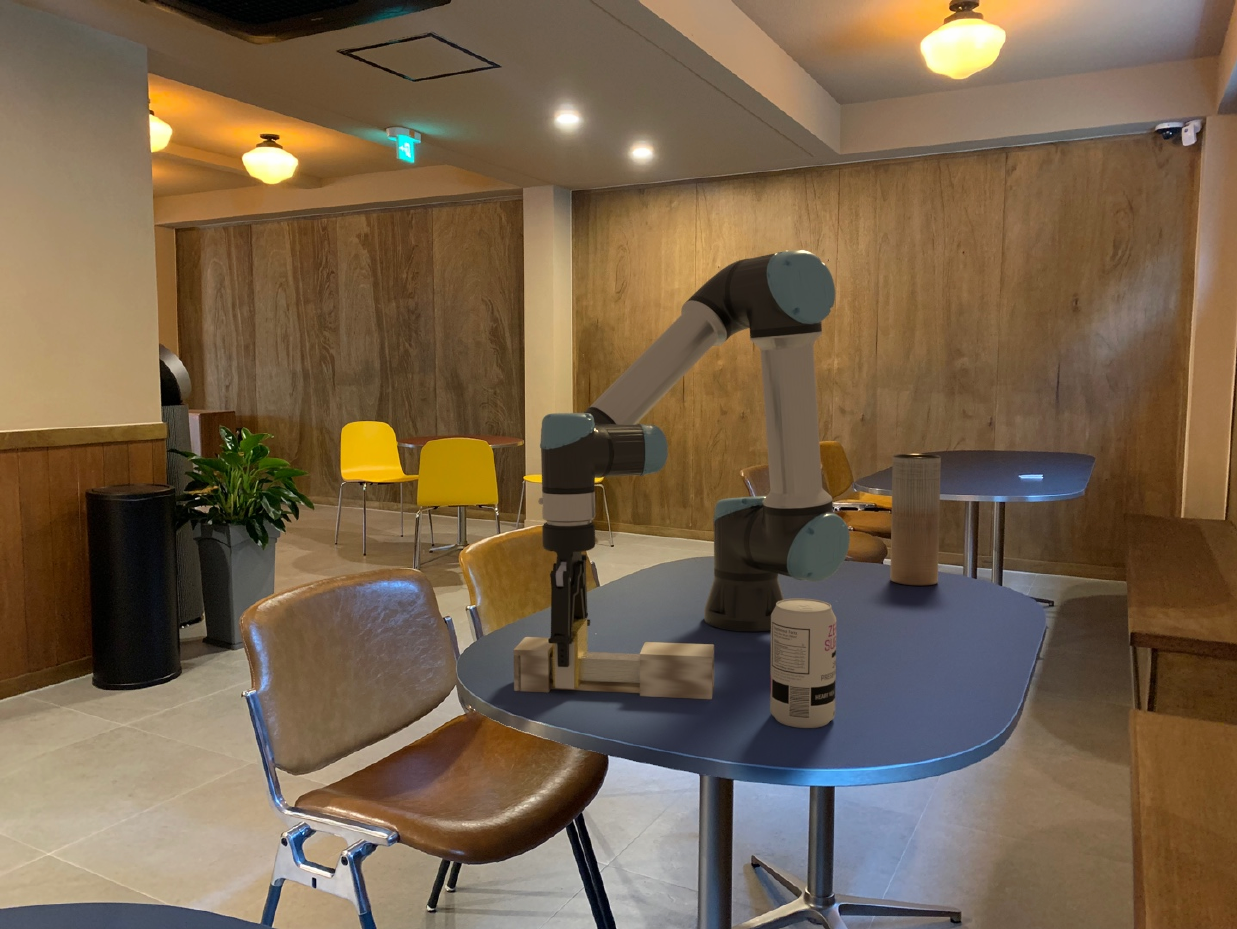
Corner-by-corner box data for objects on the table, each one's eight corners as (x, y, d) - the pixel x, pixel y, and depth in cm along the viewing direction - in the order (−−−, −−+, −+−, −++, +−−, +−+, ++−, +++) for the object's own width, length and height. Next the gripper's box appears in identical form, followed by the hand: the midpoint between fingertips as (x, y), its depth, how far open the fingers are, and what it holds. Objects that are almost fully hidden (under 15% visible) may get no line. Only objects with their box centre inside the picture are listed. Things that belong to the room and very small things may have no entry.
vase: (944, 586, 194) (947, 457, 191) (897, 586, 194) (900, 457, 192) (929, 576, 204) (931, 453, 201) (884, 576, 204) (887, 453, 201)
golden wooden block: (662, 675, 132) (662, 621, 132) (657, 691, 125) (657, 634, 125) (533, 669, 135) (532, 617, 135) (520, 684, 128) (519, 629, 128)
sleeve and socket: (714, 684, 131) (714, 644, 130) (711, 700, 124) (711, 657, 124) (526, 676, 135) (525, 636, 135) (514, 690, 129) (513, 649, 128)
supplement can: (763, 708, 121) (764, 598, 120) (823, 706, 122) (825, 596, 121) (779, 731, 113) (780, 613, 112) (843, 729, 114) (845, 611, 113)
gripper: (558, 511, 139) (560, 657, 141) (525, 532, 120) (528, 701, 122) (606, 512, 138) (607, 659, 140) (580, 533, 118) (583, 703, 120)
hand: (570, 678), depth 131 cm, fingers closed on golden wooden block, 7 cm apart
